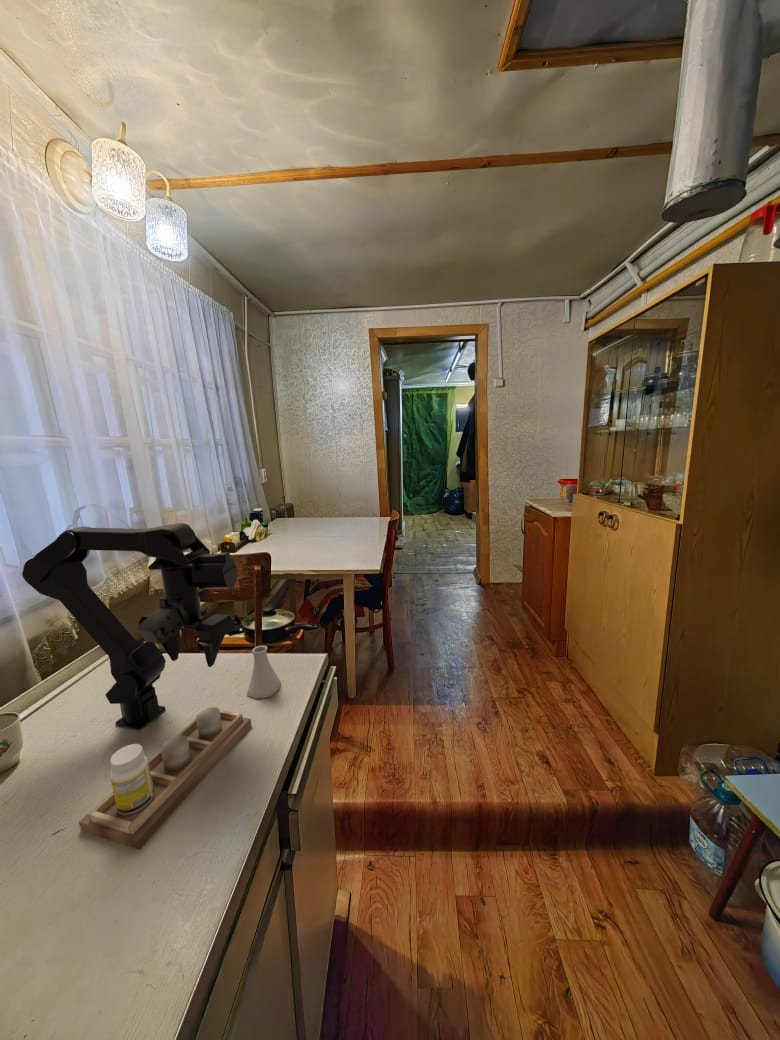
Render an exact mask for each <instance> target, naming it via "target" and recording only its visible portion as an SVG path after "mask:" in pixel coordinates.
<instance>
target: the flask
mask: <svg viewBox="0 0 780 1040" xmlns="http://www.w3.org/2000/svg"><path fill="white" fill-rule="evenodd" d="M267 651H268V646H266V645H257V646H256V647H254V648H253V649H252V651H251V654H252V655H253V659H254V660H253V669H252V674H251V678H250V680H249V681H250V682H249V685H248V689H247V693H246V696H248V697H251V698H252V699H253V698H254V699H263V698H270V697H271V696H273V695H274V694H276V693H277V692H278V691H279V690H280V687H281V683H282V681H281V680H280V677H278V675H277V673H276V672H275V670H274V668H273V666H272V664H271V662H270V659H269V657H268V653H267Z"/></svg>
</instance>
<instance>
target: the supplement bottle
mask: <svg viewBox="0 0 780 1040" xmlns="http://www.w3.org/2000/svg"><path fill="white" fill-rule="evenodd" d="M144 753H145V752H144V748H143V745H141V744H139V743H133V744H128V745H125V746H123V747H121V748H120V749H118V750H117V751H115V752H114V753H113V754H112V756H111V757H110V762H109V763H110V769H111V771H110V775H109V779H110V783H111V787H112V788H111V789H112V792H114V797H115V801H116V806H117V810H118V812H119V813H120V814H121V815H130V814H134V813H136V812H138V811H140V810H142V809H143V808H144V807H146V806H147V805H148V804H149V803H150V801H151V800H152V798H153V796H154V787H153V782H152V777H151V772H150V767H149V761H148V760H149V758H148V756H146V755H145V754H144Z"/></svg>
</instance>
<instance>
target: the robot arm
mask: <svg viewBox="0 0 780 1040" xmlns="http://www.w3.org/2000/svg"><path fill="white" fill-rule="evenodd" d="M91 551H105V552H106V551H111V552H114V551H115V552H116V551H117V552H119V551H120V552H137V553H141V554H144V555H146V556H147V557H151V558H155V559H154V561H153V562H152V563H151V564H150V565H149V566H148V570H150V571H151V570H153V571H154V570H158V571H159V570H160V574H161V579H162V586H163V591H164V597H161V598H159V602H158V604H159V608H158V609H156V610H154V611H151V612H150V613H147V614H145V615H142V617H141V618H140V620H139V622H138V626H137V631H138V632H139V633H140V635H141V636H142V639H143V640H144V641H141V640H138V639H135V638H134V637H133V635H132V634H131V633H130V632H129V631H128V629H127V628H126V627H125V626H124V625H123V623H121V621H120V620H119V619H118V618H117V617H116V616H115V615H114V613H113V612H112V611H111V610H110V608H108V607H107V605H106V604H105V603H104V602H103V601H102V599H100V597H99V596H98V595H97V594H96V593H95V591H94V590H93V589H92V587H90V585H89V584H88V573H87V572H88V571H87V568H86V567H85V565H84V563H83V562H85V560H86V559H87V558H88V557H89V555H90V552H91ZM188 551H189V552H188ZM185 553H186V554H185ZM238 570H239V569H238V565H236V562H235V560H234V559H233V558H231V554H230V552H229V551H228V552H227V551H226V552H219V553H211V550H210V549H209V548H208V547H207V546H206V545H205V544H204V543H203V542H202V540H200V538H199V537H198V536H197V535H196V533H195V531H194V530H193V528H192V527H191V526H190V525H189V524H187V523H184V522H179V523H172V524H171V523H170V524H165V525H160V526H155V527H149V528H120V527H119V528H118V527H116V528H115V527H114V528H113V527H106V528H105V527H91V526H80V527H75V528H71V529H67V530H65V531H62V533H60V534H59V535H58V537H57V538H56V539H55V540H54V541H53V542H52V543H50V544H48V545H47V546H46V547H44V548H43V549H41V550H40V551H39V552H37V553H36V554H35V555H34V556H33V557H31V558H29V559H28V560H26V561H25V562H24V565H23V569H22V572H21V575H22V577H23V579H24V581H25V583H27V584H28V585H29V586H31V588H33V589H34V590H35V591H36V592H37V593H38V594H40V595H43V596H45V597H49V598H52V599H54V600H57V601H59V602H60V603H61V604H62V605H63V606H64V607H65V609H67V610H68V612H69V613H70V614H71V615H72V616H73V617H74V618H75V620H76V622H78V623H79V624H80V625H81V627H82V628H83V629H84V630H85V631H86V632H87V634H88V635H90V637H91V638H92V639H93V640H94V642H96V643H97V645H98V646H99V647H100V648H101V649H102V650H103V652H104V653H105V654H106V655H107V656H108V658H109V665H110V666H109V667H110V674H111V676H112V678H113V679H114V680H115V682H114V684H113V685H112V686H111V687H110V689H109V690H108V691H107V693H105V698H106V699H107V702H109V704H111V705H113V704H114V705H116V704H117V705H119V706H120V710H121V711H120V712H121V716H122V717H120V718H119V719H118V720H116V721H115V726H117V727H123V728H127V729H132V730H137V731H139V730H141V729H143V728H144V727H145V726H146V725H147V724H149V723H151V722H152V721H153V720H154V719H156V717H158V716H159V715H160V714H162V713H163V712H164V711H166V706H165V705H164V706H163V705H160V704H159V700H158V695H157V692H156V687H154V683H156V681H157V680H159V679H160V678H161V674H162V672H163V671H164V669H165V668H166V658H165V656H164V655H163V654H165V653H164V651H163V650H161V649H160V648H159V647H158V646H157V645H156V644H158V645H162V646H163V648H164V650H165V652H166V653H167V655H168V656H169V658H170V659H171V661H172V662H175V661H177V660H178V659H179V654H180V637H181V635H180V634H181V630H182V629H184V628H185V629H190V630H191V629H192V630H195V635H196V637H197V638H198V639H197V640H196V642H197V643H198V644H200V645H202V646H203V651H204V656H205V660H206V661H205V662H206V664H207V666H208V667H207V668H212V666H214V664H215V662H216V659H217V657H218V654H219V650H220V647H221V645H222V642H223V641H224V638H225V636H226V635H227V634H228V633H230V632H231V631H233V630H234V629H235V628H236V625H235V623H236V622H235V617H233V616H232V615H230V614H220V613H215V614H213V615H211V616H210V617H208V618H206V619H203V618H202V617H204V616H206V615H208V612H207V609H206V608H202V606H201V599H200V597H202V596H204V595H205V593H204V590H215V589H216V590H217V589H218V590H219V589H221V590H222V589H232V588H234V587H235V585H236V583H237V580H238V575H239V574H238V572H239V571H238Z"/></svg>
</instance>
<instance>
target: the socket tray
mask: <svg viewBox="0 0 780 1040" xmlns="http://www.w3.org/2000/svg"><path fill="white" fill-rule="evenodd" d="M251 727H252V719H251V718H247V717H243V714H242V713H239V712H232V711H227V710H221V709H219V708H218V707H215V706H213V707H207V708H205V709H202V710H201V711H199V712H198V714H197V715H196V717H195V719H193V720H192V721H191V722H190V723H189V724H188V725H187V726H186V727H184V728H183V729H182V730H181V731H179V733H177V735H175V736H174V737H172V738H169V739H168V740H167V741H165V742H164V743H163V744H162V746H161V747H160V749H159V751H157V752H156V753H155V754H154V755H153V756H151V758H150V759H149V758H148V761H149V767H150V772H151V777H152V782H153V787H154V796H153V798H152V800H151V801H150V803H149V804H148V805H147V806H146V807H144V808H143V809H142V810H140V811H138V812H136V813H134V814H130V815H121V814H120V813H119V812H118V810H117V806H116V801H115V797H114V792H113V791H112V792H111V793H109V795H107V796H106V797H105V798H104V799H103V800H102V801H101V802H100V803H99V804H98V805H96V806H95V807H94V808H93V809H92V810H91V811H90V812H88V813H87V814H86V815H84V817H82V818H81V820H79V821H78V825H79V829H80V831H82V832H84V833H87V834H90V835H93V836H96V837H98V838H102V839H104V840H108V841H111V842H114V843H116V844H119V845H120V844H121V845H122V846H126V847H129V848H131V849H135V850H138V851H139V850H141V849H142V848H143V846H144V845H145V844H146V843H147V842H148V841H149V839H151V838H152V836H153V835H154V834H155V833H156V832H157V830H158V829H160V827H161V826H162V825H163V824H164V823H165V822H166V821H167V820H168V819H169V817H171V815H172V814H173V813H174V812H175V811H176V809H178V807H179V806H180V805H182V803H183V802H184V801H185V800H186V799H187V797H188V796H190V794H191V793H192V792H193V791H194V789H195V788H197V787H198V785H199V784H200V783H201V782H202V781H203V779H205V777H207V776H208V774H209V773H210V772H211V771H212V770H213V769H214V767H216V765H218V763H219V762H221V760H222V759H223V757H224V756H226V754H227V753H229V751H230V750H231V749H232V748H233V747H234V745H235V744H236V743H237V742H238V741H239V740H240V739H241V738H242V737H243V736H244V734H245V733H246V732H247V731H248V730H249V729H250V728H251Z"/></svg>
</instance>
